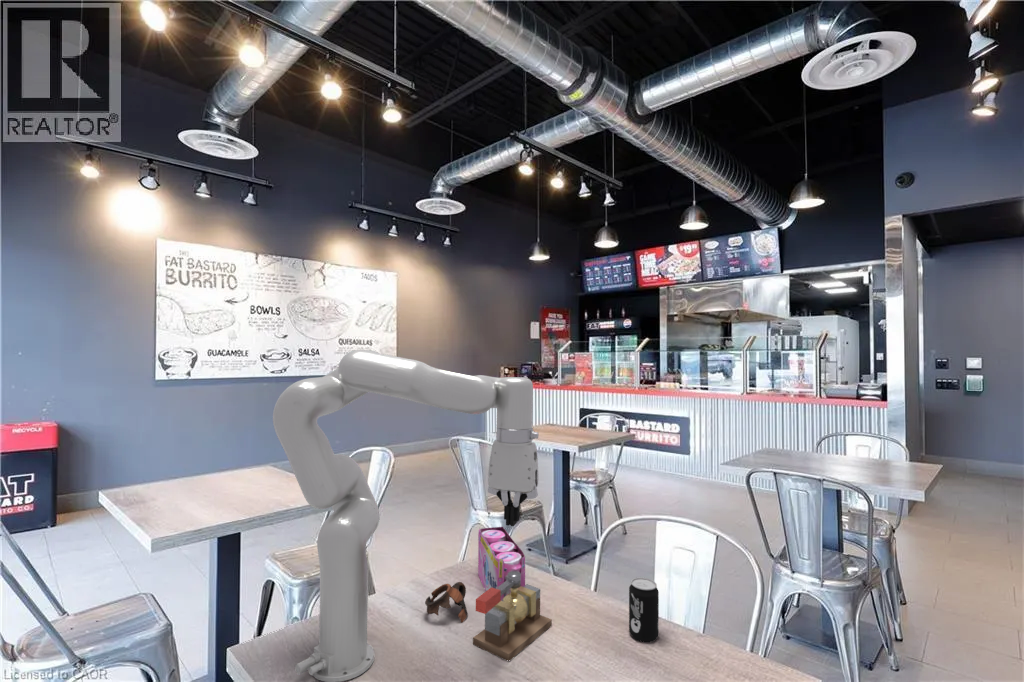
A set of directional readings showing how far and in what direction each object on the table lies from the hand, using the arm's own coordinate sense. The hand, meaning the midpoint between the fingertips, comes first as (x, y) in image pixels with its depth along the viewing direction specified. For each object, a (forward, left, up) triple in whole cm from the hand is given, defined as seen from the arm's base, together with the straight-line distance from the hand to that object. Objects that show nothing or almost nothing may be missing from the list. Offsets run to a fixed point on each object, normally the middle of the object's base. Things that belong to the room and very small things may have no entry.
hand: (511, 523), depth 102 cm
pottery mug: (+7, +24, -29) cm, 38 cm away
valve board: (+9, +6, -29) cm, 31 cm away
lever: (+3, +5, -18) cm, 19 cm away
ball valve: (+9, +6, -26) cm, 28 cm away
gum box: (+23, +21, -29) cm, 43 cm away
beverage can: (+27, -18, -29) cm, 44 cm away
